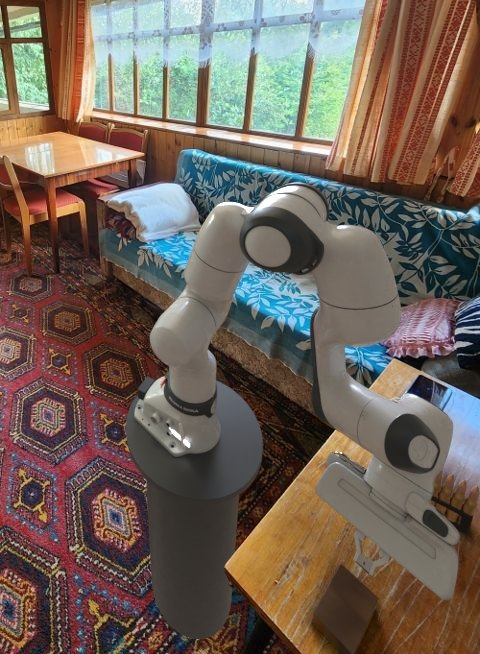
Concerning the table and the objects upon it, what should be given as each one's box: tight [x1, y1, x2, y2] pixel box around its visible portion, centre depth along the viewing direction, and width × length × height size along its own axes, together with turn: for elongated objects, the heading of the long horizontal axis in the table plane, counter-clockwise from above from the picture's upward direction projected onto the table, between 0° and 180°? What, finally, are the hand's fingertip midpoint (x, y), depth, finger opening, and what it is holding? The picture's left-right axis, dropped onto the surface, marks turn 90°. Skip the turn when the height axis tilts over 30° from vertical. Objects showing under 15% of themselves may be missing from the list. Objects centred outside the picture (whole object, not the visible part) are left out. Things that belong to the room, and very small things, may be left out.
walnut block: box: [311, 563, 380, 654], centre depth 61 cm, size 6×3×10 cm
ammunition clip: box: [430, 470, 480, 535], centre depth 72 cm, size 11×2×12 cm, turn 51°
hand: (362, 568), depth 62 cm, fingers closed
